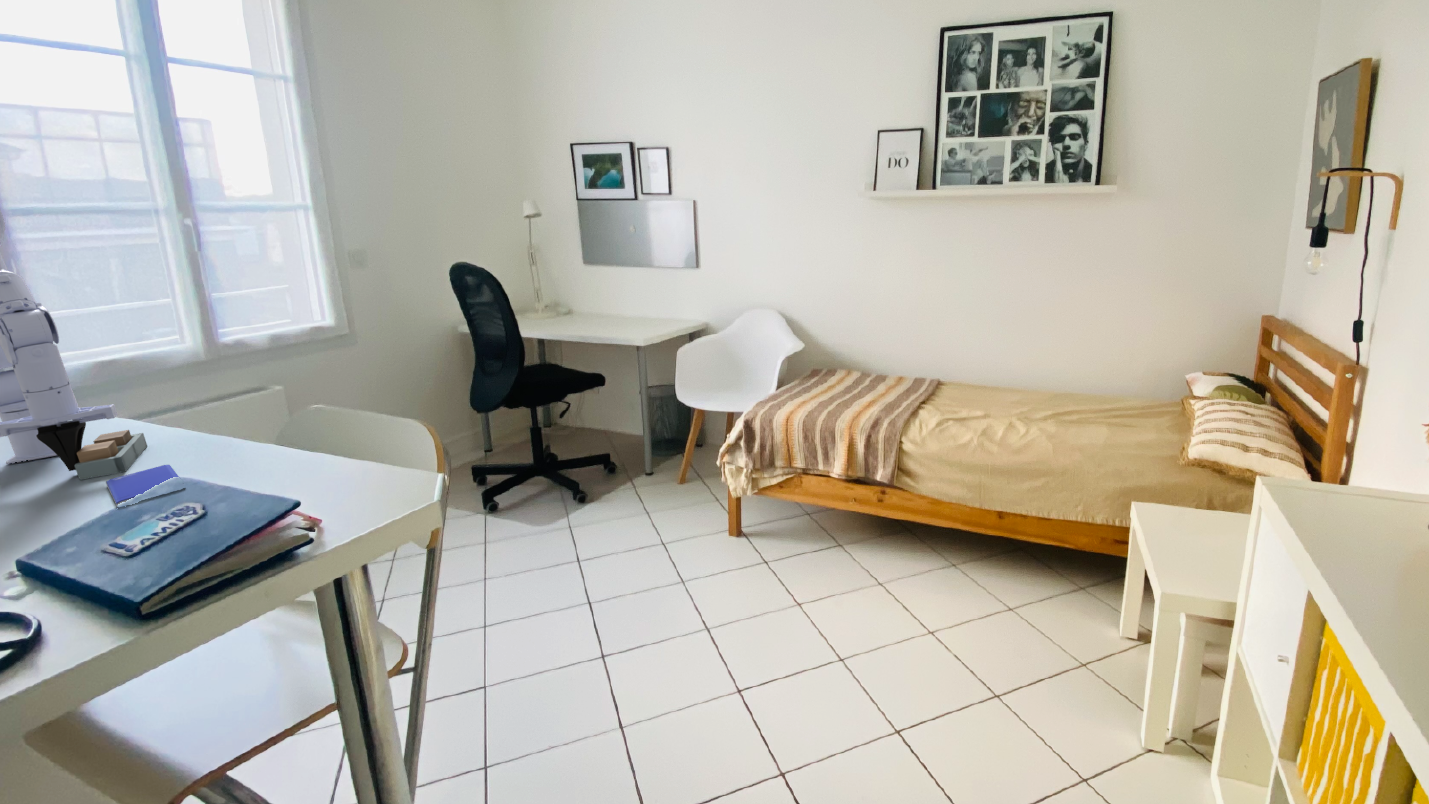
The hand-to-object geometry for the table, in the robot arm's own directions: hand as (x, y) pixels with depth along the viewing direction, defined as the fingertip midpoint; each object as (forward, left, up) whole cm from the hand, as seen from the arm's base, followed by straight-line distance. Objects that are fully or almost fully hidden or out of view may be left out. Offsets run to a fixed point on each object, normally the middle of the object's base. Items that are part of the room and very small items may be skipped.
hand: (76, 468), depth 118 cm
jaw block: (0, +3, -1) cm, 4 cm away
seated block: (-7, +4, -1) cm, 8 cm away
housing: (-3, +4, -1) cm, 5 cm away
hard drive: (+15, +12, -2) cm, 19 cm away
